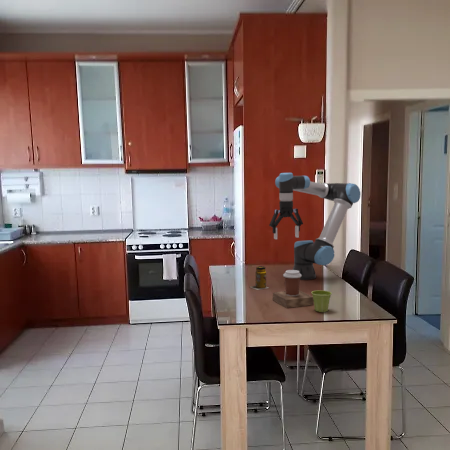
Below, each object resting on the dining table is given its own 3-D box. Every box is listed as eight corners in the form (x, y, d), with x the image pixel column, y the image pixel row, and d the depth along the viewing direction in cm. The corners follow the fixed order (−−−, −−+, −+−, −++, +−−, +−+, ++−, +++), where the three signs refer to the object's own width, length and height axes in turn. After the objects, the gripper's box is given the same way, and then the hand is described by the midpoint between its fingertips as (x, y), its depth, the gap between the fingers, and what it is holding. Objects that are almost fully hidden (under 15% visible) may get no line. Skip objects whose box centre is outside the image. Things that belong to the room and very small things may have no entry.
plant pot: (308, 308, 221) (309, 290, 220) (327, 307, 222) (328, 289, 221) (314, 313, 212) (314, 295, 211) (334, 313, 213) (334, 294, 212)
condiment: (269, 287, 261) (269, 267, 259) (257, 290, 256) (257, 269, 255) (261, 285, 267) (261, 265, 265) (249, 287, 262) (249, 266, 261)
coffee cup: (287, 297, 225) (287, 273, 223) (280, 293, 233) (280, 270, 232) (304, 296, 227) (304, 272, 226) (296, 291, 236) (296, 268, 234)
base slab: (298, 297, 240) (298, 289, 240) (313, 304, 226) (313, 296, 226) (272, 300, 235) (272, 292, 235) (286, 308, 221) (286, 300, 221)
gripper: (302, 199, 263) (302, 235, 266) (263, 201, 254) (263, 238, 257) (309, 199, 256) (309, 237, 259) (269, 202, 247) (269, 240, 250)
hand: (286, 238), depth 258 cm, fingers open, 13 cm apart
